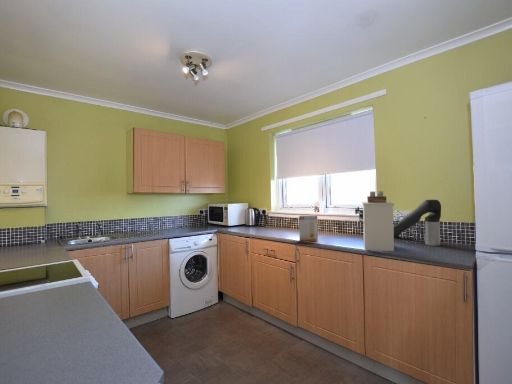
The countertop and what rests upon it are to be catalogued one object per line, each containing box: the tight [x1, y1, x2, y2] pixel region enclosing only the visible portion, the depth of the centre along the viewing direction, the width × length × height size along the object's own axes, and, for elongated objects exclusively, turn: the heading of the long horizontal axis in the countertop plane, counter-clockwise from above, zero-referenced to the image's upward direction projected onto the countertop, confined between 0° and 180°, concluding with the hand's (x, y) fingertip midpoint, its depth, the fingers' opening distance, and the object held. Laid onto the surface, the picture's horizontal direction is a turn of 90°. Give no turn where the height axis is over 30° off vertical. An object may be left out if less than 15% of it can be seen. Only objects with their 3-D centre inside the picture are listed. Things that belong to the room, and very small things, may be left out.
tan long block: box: [366, 190, 387, 203], centre depth 212 cm, size 34×12×8 cm, turn 161°
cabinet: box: [361, 201, 395, 252], centre depth 198 cm, size 24×19×32 cm
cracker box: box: [298, 214, 319, 242], centre depth 229 cm, size 14×6×21 cm, turn 58°
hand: (363, 207), depth 236 cm, fingers open, 8 cm apart
